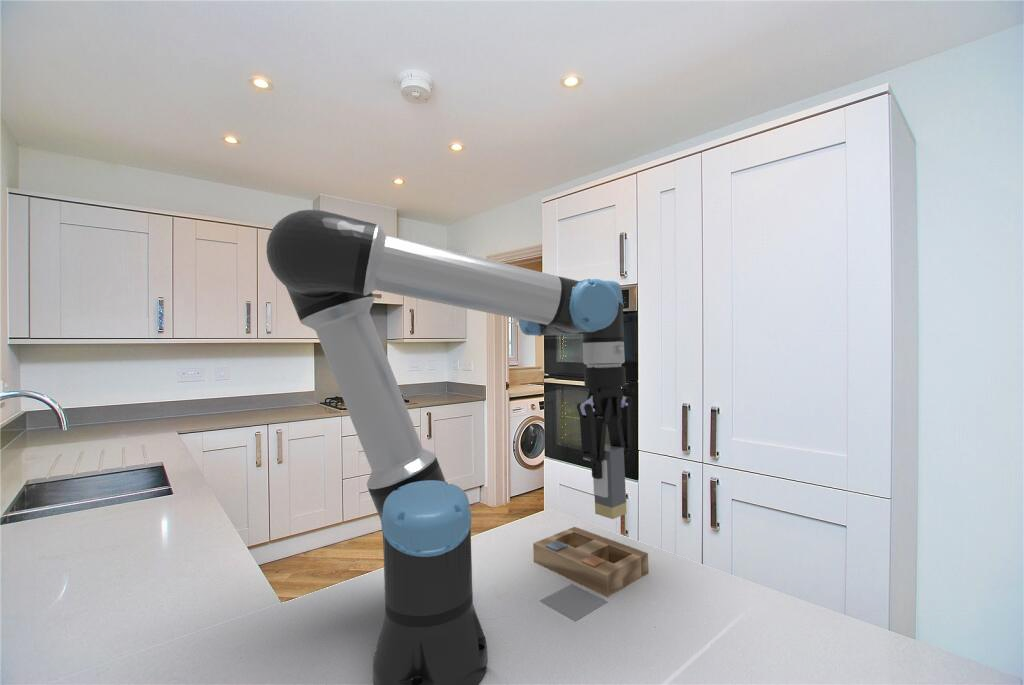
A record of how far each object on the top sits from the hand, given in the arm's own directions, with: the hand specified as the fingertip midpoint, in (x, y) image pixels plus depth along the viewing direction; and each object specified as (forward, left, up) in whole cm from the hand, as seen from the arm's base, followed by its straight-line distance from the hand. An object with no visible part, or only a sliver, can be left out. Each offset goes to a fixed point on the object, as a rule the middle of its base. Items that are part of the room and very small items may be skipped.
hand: (609, 492), depth 86 cm
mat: (-12, -1, -15) cm, 20 cm away
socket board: (-1, +5, -15) cm, 16 cm away
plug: (0, 0, -4) cm, 4 cm away
